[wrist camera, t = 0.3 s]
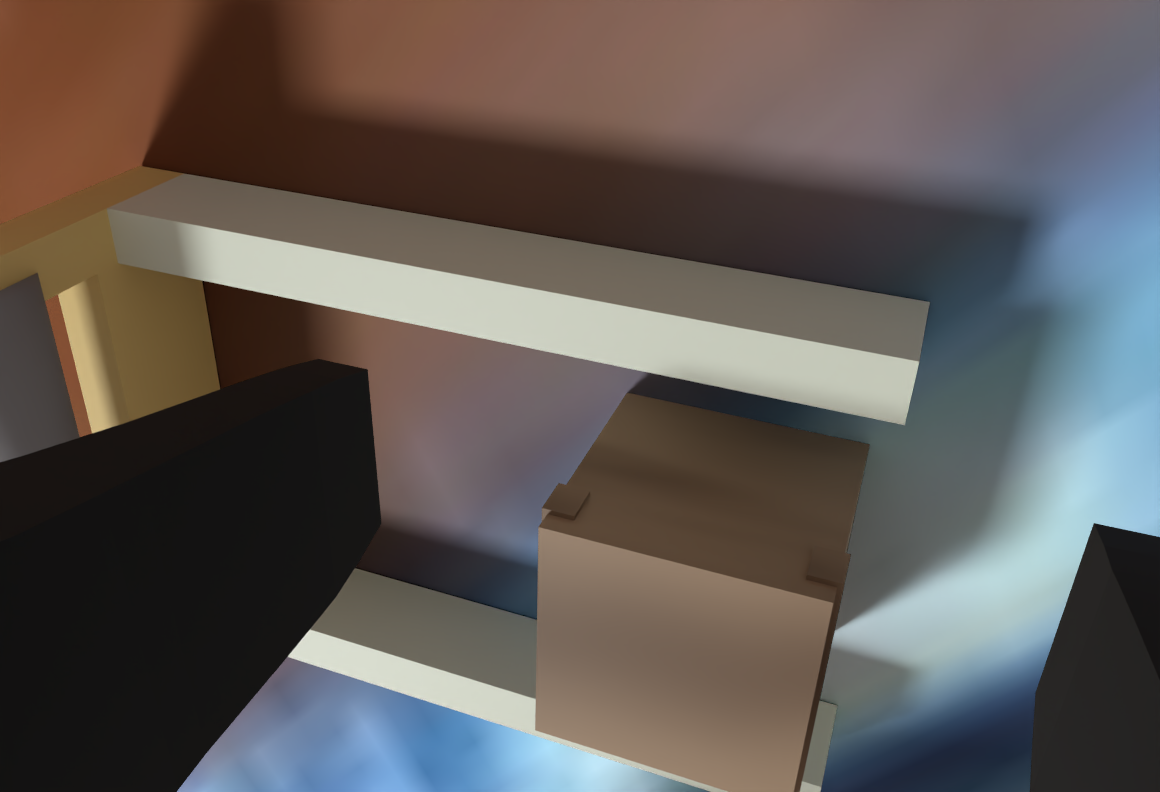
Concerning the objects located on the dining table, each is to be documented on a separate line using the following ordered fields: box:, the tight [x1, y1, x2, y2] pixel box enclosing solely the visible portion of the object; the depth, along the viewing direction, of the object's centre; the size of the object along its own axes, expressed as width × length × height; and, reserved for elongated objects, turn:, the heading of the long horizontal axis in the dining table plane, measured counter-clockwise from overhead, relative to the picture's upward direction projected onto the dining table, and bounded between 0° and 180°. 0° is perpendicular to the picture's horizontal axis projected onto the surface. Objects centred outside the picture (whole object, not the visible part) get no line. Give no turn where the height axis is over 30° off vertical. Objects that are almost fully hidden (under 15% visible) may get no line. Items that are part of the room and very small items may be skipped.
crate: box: [535, 393, 870, 792], centre depth 20 cm, size 5×5×5 cm
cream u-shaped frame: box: [0, 166, 930, 792], centre depth 21 cm, size 11×18×6 cm, turn 88°
